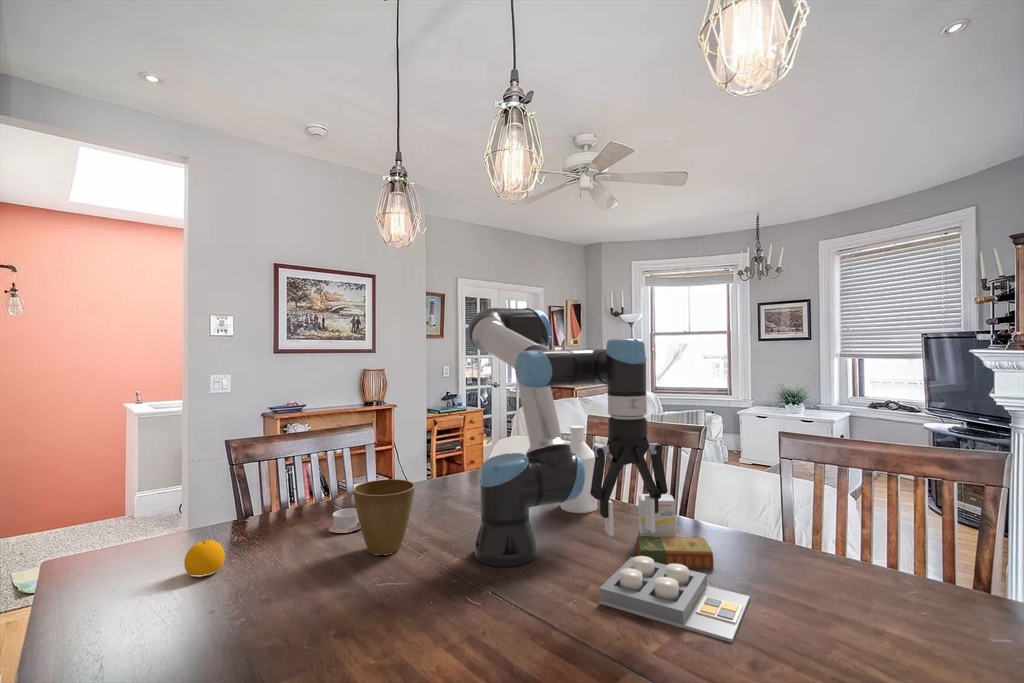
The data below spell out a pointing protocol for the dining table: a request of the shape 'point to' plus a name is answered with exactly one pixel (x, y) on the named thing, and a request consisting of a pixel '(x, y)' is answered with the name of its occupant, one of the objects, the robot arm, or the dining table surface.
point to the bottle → (585, 499)
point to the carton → (676, 551)
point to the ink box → (659, 517)
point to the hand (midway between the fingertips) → (629, 531)
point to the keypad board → (680, 603)
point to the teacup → (345, 518)
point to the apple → (204, 558)
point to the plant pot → (384, 513)
